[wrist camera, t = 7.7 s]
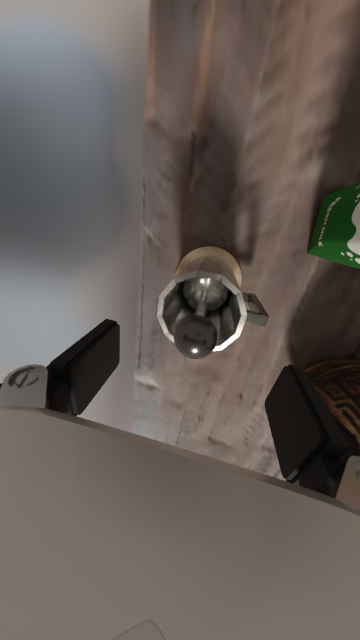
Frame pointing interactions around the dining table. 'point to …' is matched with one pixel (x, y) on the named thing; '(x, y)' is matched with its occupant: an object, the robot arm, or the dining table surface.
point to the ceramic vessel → (340, 395)
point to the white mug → (224, 317)
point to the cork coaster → (213, 252)
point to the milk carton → (338, 228)
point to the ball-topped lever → (199, 317)
